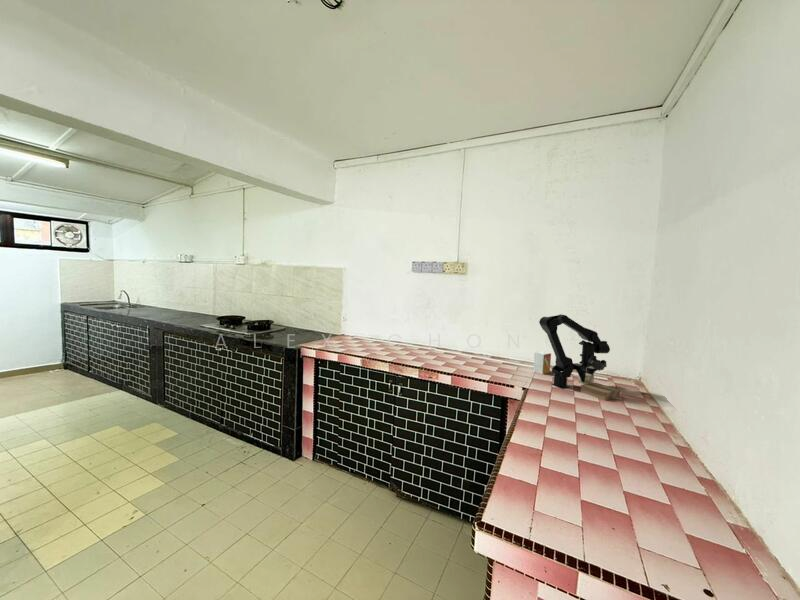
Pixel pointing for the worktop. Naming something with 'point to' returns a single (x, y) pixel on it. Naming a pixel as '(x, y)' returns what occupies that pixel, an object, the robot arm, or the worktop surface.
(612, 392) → the walnut block
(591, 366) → the robot arm
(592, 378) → the maple cube
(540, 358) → the small box
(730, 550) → the worktop surface
